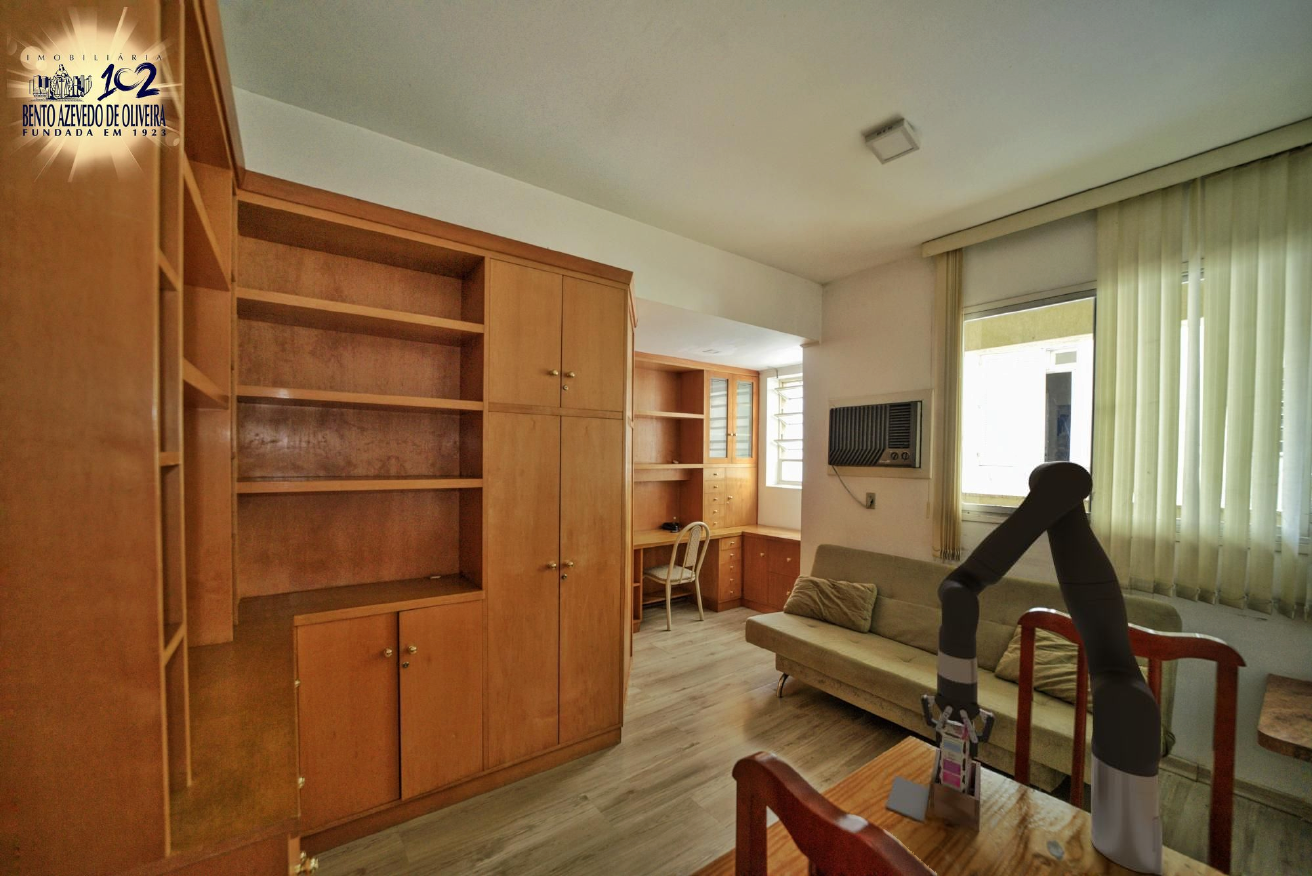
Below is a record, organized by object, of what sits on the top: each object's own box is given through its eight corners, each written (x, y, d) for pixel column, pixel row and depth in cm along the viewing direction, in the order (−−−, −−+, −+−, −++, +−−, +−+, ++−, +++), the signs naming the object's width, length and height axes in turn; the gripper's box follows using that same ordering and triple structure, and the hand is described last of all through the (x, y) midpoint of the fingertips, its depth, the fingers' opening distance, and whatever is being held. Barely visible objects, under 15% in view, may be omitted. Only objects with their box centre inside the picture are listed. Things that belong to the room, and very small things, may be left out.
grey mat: (929, 789, 108) (929, 788, 108) (923, 823, 98) (923, 821, 98) (895, 777, 112) (895, 775, 112) (886, 808, 102) (886, 806, 102)
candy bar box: (966, 821, 99) (966, 740, 99) (938, 809, 102) (938, 731, 103) (973, 792, 108) (973, 717, 108) (947, 782, 111) (947, 709, 111)
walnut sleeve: (980, 790, 108) (980, 763, 109) (979, 831, 96) (979, 801, 97) (936, 774, 113) (936, 748, 114) (929, 812, 101) (930, 783, 102)
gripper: (997, 676, 105) (996, 756, 104) (921, 658, 113) (921, 732, 112) (997, 690, 98) (996, 775, 98) (917, 670, 107) (916, 748, 106)
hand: (956, 752), depth 105 cm, fingers closed on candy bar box, 5 cm apart
